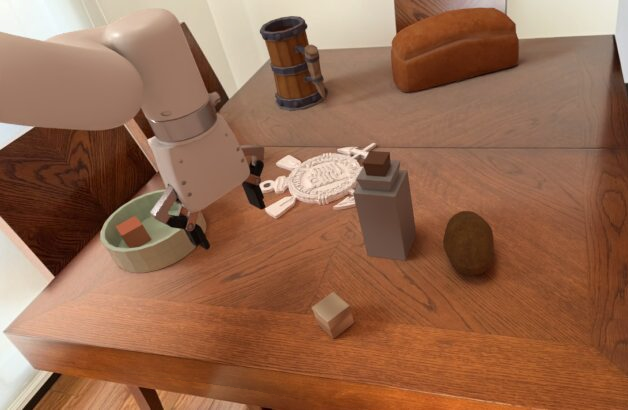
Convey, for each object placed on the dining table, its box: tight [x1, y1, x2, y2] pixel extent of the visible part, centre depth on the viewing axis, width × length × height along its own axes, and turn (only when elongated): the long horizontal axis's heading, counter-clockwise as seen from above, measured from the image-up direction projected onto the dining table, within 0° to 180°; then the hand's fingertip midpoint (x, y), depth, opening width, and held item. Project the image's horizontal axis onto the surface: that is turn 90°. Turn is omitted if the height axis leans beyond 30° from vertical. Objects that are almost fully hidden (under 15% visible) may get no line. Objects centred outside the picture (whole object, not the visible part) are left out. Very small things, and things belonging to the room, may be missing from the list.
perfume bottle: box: [352, 150, 417, 261], centre depth 81 cm, size 7×7×18 cm
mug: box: [259, 15, 329, 112], centre depth 128 cm, size 19×14×20 cm
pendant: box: [259, 142, 377, 220], centre depth 104 cm, size 21×28×1 cm
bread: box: [390, 7, 520, 93], centre depth 129 cm, size 14×33×16 cm, turn 104°
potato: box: [442, 210, 495, 277], centre depth 79 cm, size 8×12×8 cm, turn 8°
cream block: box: [311, 291, 355, 340], centre depth 73 cm, size 4×4×4 cm
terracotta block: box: [115, 216, 151, 248], centre depth 95 cm, size 4×4×4 cm
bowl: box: [99, 188, 208, 274], centre depth 95 cm, size 18×18×6 cm
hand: (231, 224), depth 71 cm, fingers open, 9 cm apart
